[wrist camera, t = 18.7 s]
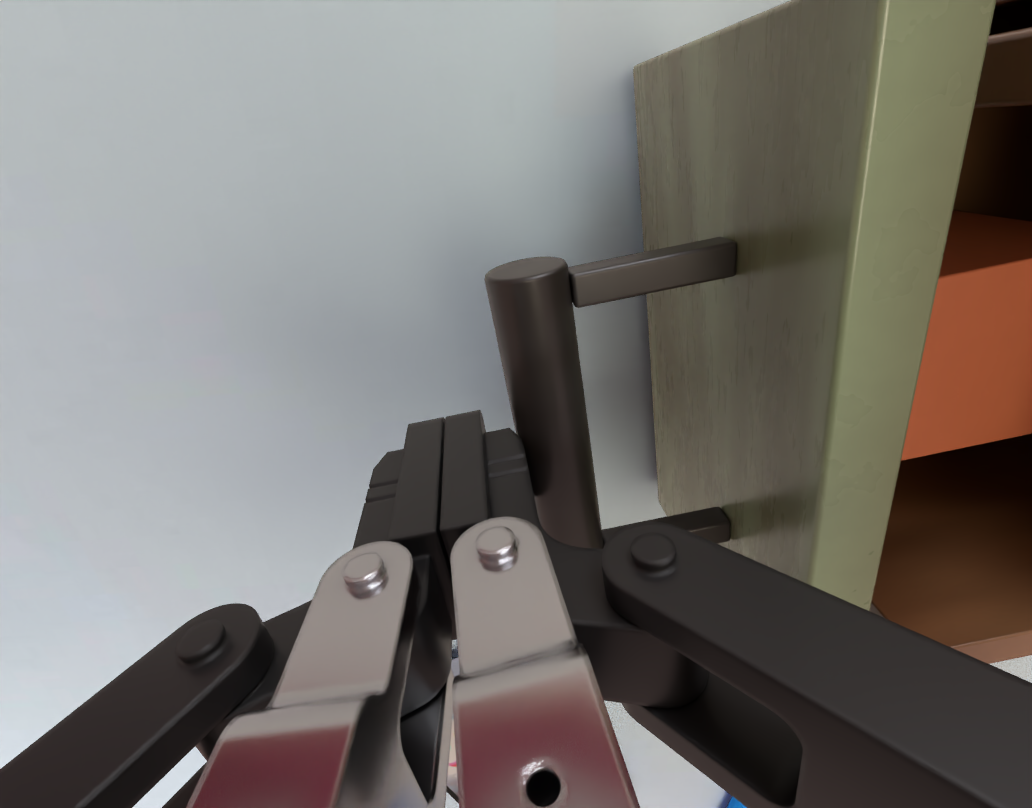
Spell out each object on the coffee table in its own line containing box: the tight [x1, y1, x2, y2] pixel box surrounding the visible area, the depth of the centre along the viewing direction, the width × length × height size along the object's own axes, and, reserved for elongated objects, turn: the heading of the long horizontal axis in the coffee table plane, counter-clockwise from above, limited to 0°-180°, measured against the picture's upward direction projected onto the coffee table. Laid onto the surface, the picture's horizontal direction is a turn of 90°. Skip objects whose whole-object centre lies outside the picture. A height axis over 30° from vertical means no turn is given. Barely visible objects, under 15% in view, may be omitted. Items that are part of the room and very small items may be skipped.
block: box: [901, 210, 1032, 461], centre depth 12 cm, size 4×4×4 cm
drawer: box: [485, 0, 1032, 664], centre depth 11 cm, size 19×13×8 cm
